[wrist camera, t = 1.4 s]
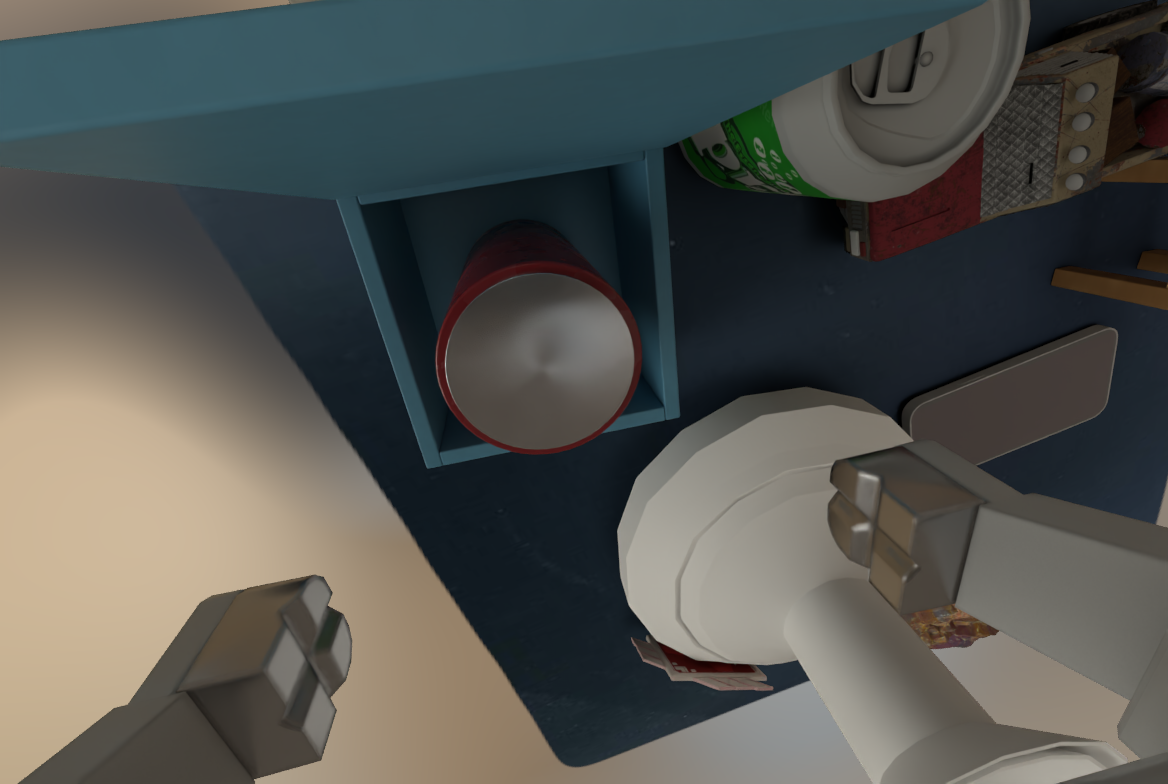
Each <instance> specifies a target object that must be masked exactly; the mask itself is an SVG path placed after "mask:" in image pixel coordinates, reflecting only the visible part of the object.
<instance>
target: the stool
mask: <svg viewBox="0 0 1168 784" xmlns="http://www.w3.org/2000/svg"><path fill="white" fill-rule="evenodd" d="M1101 181H1103V182H1146V183H1168V157H1157V158H1154V159H1151V160H1149V161H1146V162H1143V163H1141V164H1138V165H1135V166H1133V167H1130V168H1127V169H1125V170H1122V171H1119V172H1116V173H1114V174H1111V175H1108V176H1106V177H1103V178H1102V179H1101ZM1137 269H1142V270H1148V271H1154V272H1161V273H1167V274H1168V250H1161V249H1155V250H1150V251H1145V252H1142V255H1141V258H1140V261H1139V263H1138V266H1137ZM1051 285H1052V286H1057V287H1062V288H1066V289H1071V290H1076V291H1080V292H1085V293H1090V294H1094V295H1099V296H1104V297H1109V298H1113V299H1118V300H1123V301H1127V302H1132V303H1137V304H1141V305H1146V306H1151V307H1155V308H1160V309H1165V310H1168V283H1167V282H1161V281H1156V280H1150V279H1144V278H1138V277H1132V276H1127V275H1121V274H1115V273H1109V272H1103V271H1098V270H1092V269H1086V268H1080V267H1074V266H1067V267H1062V268H1057V269H1055V272H1054V275H1053V279H1052V283H1051Z"/></svg>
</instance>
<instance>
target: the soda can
mask: <svg viewBox="0 0 1168 784" xmlns="http://www.w3.org/2000/svg"><path fill="white" fill-rule="evenodd" d="M1030 19H1031V17H1030V3H1029V0H988V1H987V2H985V3H984V4H982V5H980V6H978V7H976V8H974V9H971V10H969V11H967V12H965V13H963V14H960V15H958V16H956V17H954V18H951V19H949V20H947V21H945V22H943V23H940V24H938V25H936V26H934V27H932V28H929V29H927V30H925V31H923V32H920V33H918V34H916V35H914V36H912V37H909V38H907V39H905V40H903V41H900V42H898V43H896V44H894V45H892V46H889V47H887V48H885V49H883V50H881V51H878V52H876V53H874V54H872V55H869V56H867V57H865V58H863V59H861V60H858V61H856V62H854V63H852V64H849V65H847V66H845V67H843V68H841V69H838V70H836V71H834V72H832V73H830V74H827V75H825V76H823V77H821V78H818V79H816V80H814V81H812V82H810V83H807V84H805V85H803V86H801V87H798V88H796V89H794V90H792V91H790V92H787V93H785V94H783V95H781V96H779V97H776V98H774V99H772V100H770V101H767V102H765V103H763V104H761V105H759V106H756V107H754V108H752V109H750V110H747V111H745V112H743V113H741V114H739V115H736V116H734V117H732V118H730V119H728V120H725V121H723V122H721V123H719V124H716V125H714V126H712V127H710V128H708V129H705V130H703V131H701V132H699V133H696V134H694V135H692V136H690V137H688V138H685V139H683V140H681V141H679V142H678V143H679V145H680V148H681V150H682V153H683V155H684V158H685V159H686V160H687V161H688V163H689V164H690V165H691V166H692V167H693V169H694V170H695V171H696V172H697V173H698V174H699V176H701V177H702V178H704V179H706V180H708V181H709V182H711V183H713V184H715V185H716V186H718V187H722V188H729V189H736V190H744V191H755V192H765V193H776V194H787V195H798V196H809V197H819V198H830V199H841V200H852V201H863V202H876V201H880V200H885V199H889V198H894V197H898V196H903V195H907V194H909V193H911V192H913V191H915V190H916V189H918V188H920V187H922V186H923V185H925V184H927V183H929V182H930V181H932V180H934V179H936V178H937V177H939V176H941V175H942V174H943V173H944V172H945V171H946V170H947V169H948V168H949V167H950V166H951V165H952V164H954V163H955V162H956V161H957V160H958V159H959V158H960V157H961V156H962V155H963V154H964V153H965V152H966V151H967V150H968V149H969V148H970V147H971V146H972V145H973V144H974V142H975V141H976V139H977V138H978V136H979V135H980V133H981V132H983V131H984V130H985V129H986V128H987V126H988V125H989V123H990V122H991V120H992V119H993V117H994V116H995V114H996V113H997V111H998V110H999V108H1000V107H1001V105H1002V104H1003V102H1004V101H1005V99H1006V98H1007V96H1008V95H1009V92H1010V90H1011V87H1012V85H1013V83H1014V80H1015V78H1016V75H1017V73H1018V70H1019V68H1020V65H1021V63H1022V60H1023V58H1024V53H1025V47H1026V41H1027V36H1028V30H1029V24H1030Z"/></svg>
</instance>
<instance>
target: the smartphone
mask: <svg viewBox="0 0 1168 784" xmlns="http://www.w3.org/2000/svg"><path fill="white" fill-rule="evenodd" d="M1117 341H1118V332H1117V331H1116V330H1115V329H1114V328H1110V327H1106V326H1102V325H1094V326H1091V327H1088V328H1086V329H1083V330H1081V331H1078V332H1076V333H1073V334H1071V335H1069V336H1066V337H1064V338H1061V339H1059V340H1056V341H1054V342H1051V343H1049V344H1046V345H1044V346H1041V347H1039V348H1036V349H1034V350H1032V351H1029V352H1027V353H1024V354H1022V355H1019V356H1017V357H1014V358H1012V359H1009V360H1007V361H1004V362H1002V363H999V364H997V365H994V366H992V367H990V368H987V369H985V370H982V371H980V372H977V373H975V374H972V375H970V376H967V377H965V378H962V379H960V380H957V381H955V382H953V383H950V384H948V385H945V386H943V387H940V388H938V389H935V390H933V391H930V392H928V393H925V394H923V395H920V396H918V397H916V398H914V399H912V400H911V401H910V402H908V403H907V405H906V406H905V407H904V409H903V411H902V429H903V430H904V431H905V432H906V433H907V434H908V435H909V436H910V437H911V438H912V439H913V440H914V441H917V440H921V439H927V440H931V441H936V442H937V443H939V444H941V445H942V446H944V447H945V448H947V449H949V450H950V451H952V452H954V453H955V454H957V455H959V456H960V457H962V458H964V459H965V460H967V461H968V462H970V463H972V464H973V465H975V466H976V465H979V464H981V463H984V462H986V461H989V460H991V459H994V458H996V457H999V456H1001V455H1003V454H1006V453H1008V452H1011V451H1013V450H1016V449H1018V448H1021V447H1023V446H1026V445H1028V444H1031V443H1033V442H1036V441H1038V440H1041V439H1043V438H1045V437H1048V436H1050V435H1053V434H1055V433H1058V432H1060V431H1063V430H1065V429H1068V428H1070V427H1073V426H1075V425H1078V424H1080V423H1082V422H1085V421H1087V420H1090V419H1092V418H1094V417H1096V416H1097V415H1098V414H1100V413H1101V412H1102V410H1103V409H1104V408H1105V406H1106V404H1107V401H1108V397H1109V390H1110V384H1111V378H1112V372H1113V366H1114V359H1115V353H1116V347H1117Z"/></svg>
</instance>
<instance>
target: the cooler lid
mask: <svg viewBox="0 0 1168 784" xmlns="http://www.w3.org/2000/svg"><path fill="white" fill-rule="evenodd" d="M987 1H988V0H289V3H290V4H288V5H280V6H272V7H264V8H256V9H248V10H240V11H232V12H224V13H217V14H209V15H201V16H193V17H184V18H176V19H168V20H161V21H153V22H145V23H137V24H129V25H121V26H114V27H105V28H97V29H89V30H82V31H74V32H65V33H57V34H49V35H42V36H33V37H26V38H18V39H10V40H2V41H0V167H10V168H20V169H31V170H40V171H50V172H60V173H70V174H80V175H90V176H100V177H111V178H120V179H130V180H140V181H150V182H160V183H170V184H180V185H190V186H200V187H210V188H220V189H230V190H240V191H250V192H260V193H270V194H280V195H290V196H301V197H311V198H321V199H331V200H334V199H340V198H347V197H353V196H359V195H366V194H372V193H379V192H385V191H391V190H398V189H404V188H410V187H417V186H423V185H429V184H436V183H442V182H448V181H455V180H461V179H467V178H474V177H480V176H486V175H493V174H499V173H505V172H512V171H518V170H524V169H531V168H537V167H543V166H550V165H556V164H562V163H569V162H575V161H581V160H588V159H594V158H600V157H607V156H613V155H619V154H626V153H632V152H638V151H645V150H651V149H657V148H664V147H668V146H670V145H672V144H674V143H677V142H679V141H681V140H683V139H685V138H688V137H690V136H692V135H694V134H696V133H699V132H701V131H703V130H705V129H708V128H710V127H712V126H714V125H716V124H719V123H721V122H723V121H725V120H728V119H730V118H732V117H734V116H736V115H739V114H741V113H743V112H745V111H747V110H750V109H752V108H754V107H756V106H759V105H761V104H763V103H765V102H767V101H770V100H772V99H774V98H776V97H779V96H781V95H783V94H785V93H787V92H790V91H792V90H794V89H796V88H798V87H801V86H803V85H805V84H807V83H810V82H812V81H814V80H816V79H818V78H821V77H823V76H825V75H827V74H830V73H832V72H834V71H836V70H838V69H841V68H843V67H845V66H847V65H849V64H852V63H854V62H856V61H858V60H861V59H863V58H865V57H867V56H869V55H872V54H874V53H876V52H878V51H881V50H883V49H885V48H887V47H889V46H892V45H894V44H896V43H898V42H900V41H903V40H905V39H907V38H909V37H912V36H914V35H916V34H918V33H920V32H923V31H925V30H927V29H929V28H932V27H934V26H936V25H938V24H940V23H943V22H945V21H947V20H949V19H951V18H954V17H956V16H958V15H960V14H963V13H965V12H967V11H969V10H971V9H974V8H976V7H978V6H980V5H982V4H984V3H985V2H987Z"/></svg>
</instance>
